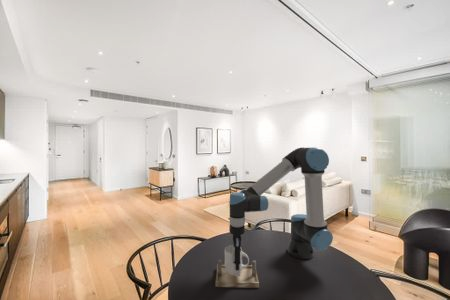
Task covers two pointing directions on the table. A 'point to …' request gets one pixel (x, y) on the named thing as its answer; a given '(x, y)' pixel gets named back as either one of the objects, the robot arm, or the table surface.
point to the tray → (237, 277)
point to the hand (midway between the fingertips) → (236, 269)
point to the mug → (233, 259)
